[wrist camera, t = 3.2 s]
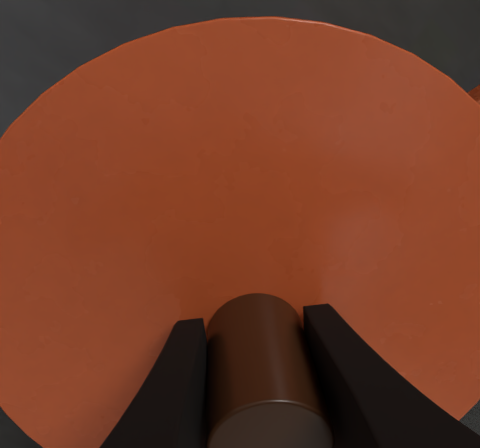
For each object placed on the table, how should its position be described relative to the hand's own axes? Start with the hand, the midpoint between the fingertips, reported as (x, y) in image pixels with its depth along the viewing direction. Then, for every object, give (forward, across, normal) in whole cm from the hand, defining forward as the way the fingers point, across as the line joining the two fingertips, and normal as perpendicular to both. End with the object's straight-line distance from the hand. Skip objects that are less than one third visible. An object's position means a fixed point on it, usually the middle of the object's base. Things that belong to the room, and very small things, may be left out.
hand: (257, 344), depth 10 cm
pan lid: (+1, 0, 0) cm, 1 cm away
